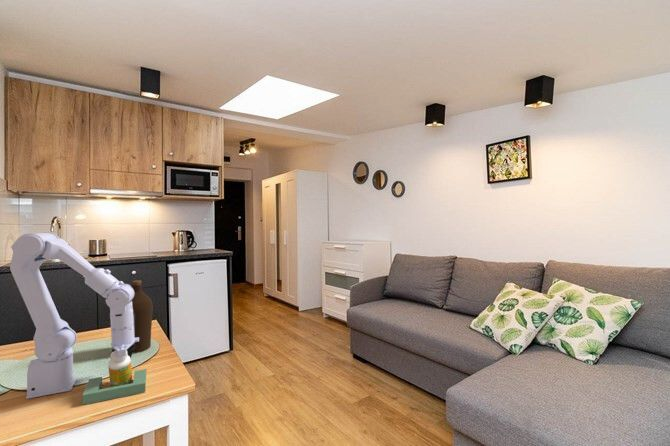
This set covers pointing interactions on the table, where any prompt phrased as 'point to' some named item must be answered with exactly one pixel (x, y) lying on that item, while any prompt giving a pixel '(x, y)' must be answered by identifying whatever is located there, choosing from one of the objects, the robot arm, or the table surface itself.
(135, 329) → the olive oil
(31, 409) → the table surface
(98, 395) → the green u-shaped block
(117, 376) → the supplement bottle
